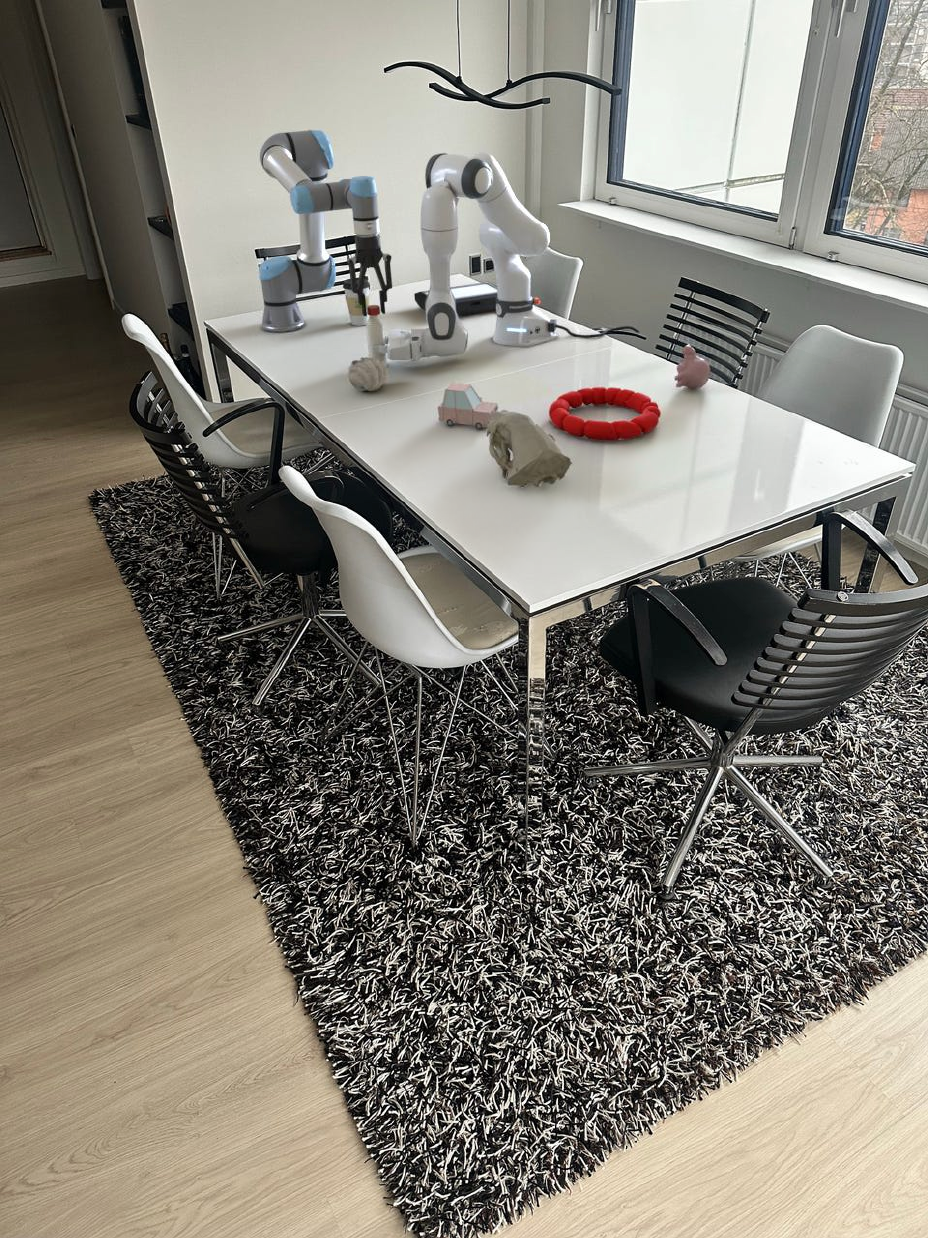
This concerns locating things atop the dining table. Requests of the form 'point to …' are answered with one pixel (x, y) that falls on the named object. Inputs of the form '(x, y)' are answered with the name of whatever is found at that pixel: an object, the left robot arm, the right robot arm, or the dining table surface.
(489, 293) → the electronic device
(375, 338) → the bottle
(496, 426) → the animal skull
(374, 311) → the cap
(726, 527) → the dining table surface
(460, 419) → the toy car
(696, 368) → the figurine
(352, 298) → the coffee cup
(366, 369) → the seashell
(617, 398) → the decorative ring
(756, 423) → the dining table surface
